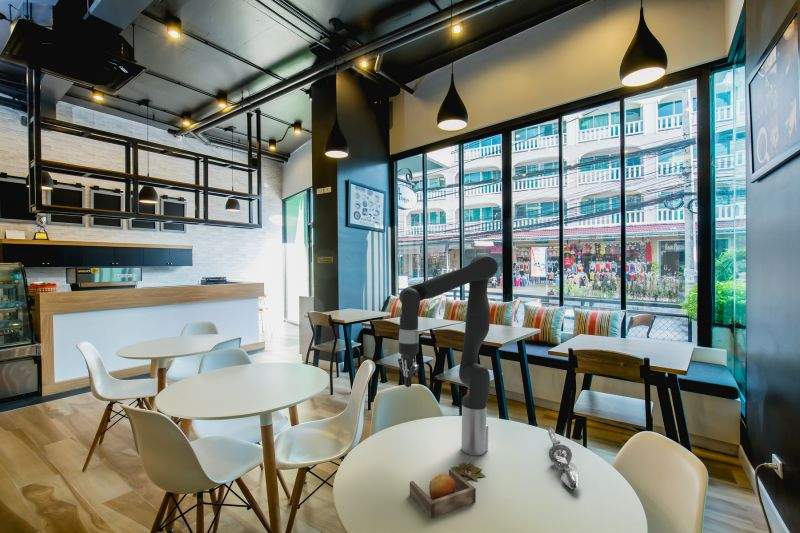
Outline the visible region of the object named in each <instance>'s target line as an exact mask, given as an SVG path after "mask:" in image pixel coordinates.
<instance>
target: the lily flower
mask: <svg viewBox="0 0 800 533" xmlns="http://www.w3.org/2000/svg"><path fill="white" fill-rule="evenodd" d="M450 468H451V469H453V470H454V471H455V472H456V473H457V474H459V475H460V476H461V477H462V478H464V479H465V480H466V481H468V480H469V479H472V480H474V481H476V482H478V478H479V477H480V478H482V477H483V478H487V476H486V475H485V474H483V473H482V472H481V470H483V469H482V468H480V467H478V466H476V465H475V462H472V461H471V460H470V461H469V460H468V462H467V461H462V462H461V463H458V466H457V465H456V466H452V467H451V466H450ZM468 473H470V474H468Z"/></svg>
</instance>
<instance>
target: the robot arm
mask: <svg viewBox="0 0 800 533" xmlns="http://www.w3.org/2000/svg"><path fill="white" fill-rule="evenodd" d="M498 268H499V264H498V262H497V260H496V258H494V257H493V256H491V255H486V254H484V255H477V256H475V257H473V258H472V260H471V261H470V263H469V264H468V265H466V266H464V267H461V268H459V269H454V270H453V271H450V272H446V273H445V272H444V273H443V274H440V275H437V276H434V277H432V278H429V279H427V280H425V281H423V282H419V283H417V284H414V285H413V284H412V285H411V286H407V287H405V288H403V289H401V291H400V292H399V296H398V298H399V301H400V303H401V313H400V317H399V330H398V331H399V332H398V353H399V354H400V358H398V359H397V362H398V365H399V369H400V372H401V374H403V377H404V387H406V388H411V387H412V378H413V377H416V375H417V374H418V371H419V369H420V364H417V363H416V362H417V358H416V356H417V354H419V343H420V342H419V336H420V334H419V313H420V306H421V301H423V300H427V299H434V298H436V297H439V296H441V295H443V294H445V293H447V292H450V291H452V290H454V289H456V288H457V289H458V288H460V287H461V286H464V285H467V284H469V287H468V288H469V289H468V296H467V297H468V298H467V304H466V306H467V307H466V313H465V314H466V316H465V324H464V326H465V328H464V337H463V347H462V353H461V358H460V361H459V362H460V364H459V370H458V377H459V380H460V382H461V383H462V384H464V385H466V386H468V387H469V392H468V394H465V395H464V396H463V397H462V399H461V400H462V402H461V403H462V404H461V405H462V406H461V451H462V452H463V453H465V454H467V455H469V456H482V455H484V454H485V453H486V452H487V451H488V450H489V425H488V424H487V406H488V405H487V403H488V401H489V397H490V386H491V385H490V384H491V382H490V381H491V375H490V372H489V369H488V368H487V367H486V366H484V365H482V364H479V363H478V360H479V351H480V348H481V346H482V344H483V342H484V341H485V340H486V337H487V335H488V333H489V331H490V323H491V322H490V321H491V309H490V308H491V307H490V302H489V298H488V283H489V279H491V278H493V277H494V276H495V275H496V274H497V272H498V270H499V269H498Z"/></svg>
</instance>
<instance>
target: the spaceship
mask: <svg viewBox="0 0 800 533" xmlns="http://www.w3.org/2000/svg"><path fill="white" fill-rule="evenodd" d="M547 431H548V437H549V439H550V441H551V443H552V446H551V447H550V449H548V450H549V451H548V458H549V460H550V461H551V462H552V463H553V465H554V466H555V467H556V468H557V469H558V470H559V471H560V472H559V474H560V473H561V474H560V476H561V475H562V476H561V477H560V480H561V481H562V482H564V484H565V485H566V486H567V487H569V488H570V490H576V489H577V488H579V473H578V472H577V471H576V470H577V467H576V465H575V464H574V463H573V462H572V458H573V453H572V450H571V448H570V447H569V446H567V445H565V444H563V443H562V444H561V441H560V439H557V436H556V434H555V430H554V428H552V427H548V430H547ZM564 451H565V452H564ZM559 464H561V465H559ZM570 467H572V468H574V469H575V470H573V469H572V468H570Z"/></svg>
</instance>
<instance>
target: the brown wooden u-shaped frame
mask: <svg viewBox="0 0 800 533" xmlns="http://www.w3.org/2000/svg"><path fill="white" fill-rule="evenodd" d="M448 475H449V476H450V477H451V478H452V479H453V481H454V483H455V490H457V491H455V493H453V494H450V495H447V496H444V497H441V498H438V499H435V500H433V499H432V498H431V497H430V495H429V494H427V493H425V491H424V490H423V489H422V488H421V487H420V486H419V485H418V484H417V483H416V482H415V480H411V481H409V496H410V497H411V498H412V499H413V500H414V501H415V502H416V504H418V506H419V508H421V509H422V510H423V511H424V513H425V514H426V515H428V517H429V518H430V519H433V518H437V517H438V516H440V515H444V514H447V513H450V512H452V511H454V510H458V509H460V508H463V507H465V506H468V505H470V504H473V503H476V502H477V501H476V498H477V497H476V496H477V495H476V494H477V492H476V491H477V490H476V487H475V486H473V485H472V484H471V483H470V482H468V480H465V479H464V478H462V477H461V476H460V475H459V474H457V473H456V472H455V470H453V469H452V468H451V469H448Z"/></svg>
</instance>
